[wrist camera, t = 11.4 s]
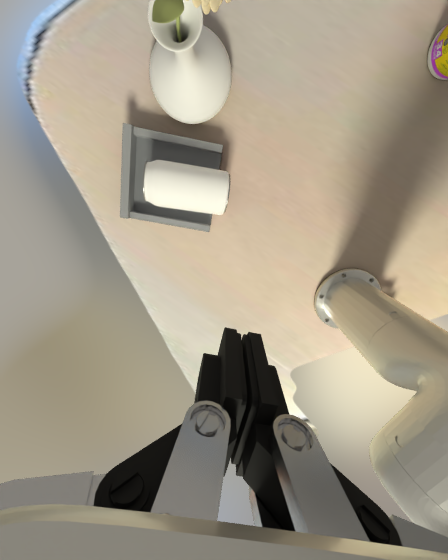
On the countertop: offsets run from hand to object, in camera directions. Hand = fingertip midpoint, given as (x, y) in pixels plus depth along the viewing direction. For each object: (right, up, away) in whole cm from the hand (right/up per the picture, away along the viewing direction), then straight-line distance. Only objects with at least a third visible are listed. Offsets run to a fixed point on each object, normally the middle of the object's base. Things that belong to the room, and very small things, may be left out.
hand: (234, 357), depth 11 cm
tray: (-8, +20, +28) cm, 35 cm away
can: (0, +17, +26) cm, 31 cm away
